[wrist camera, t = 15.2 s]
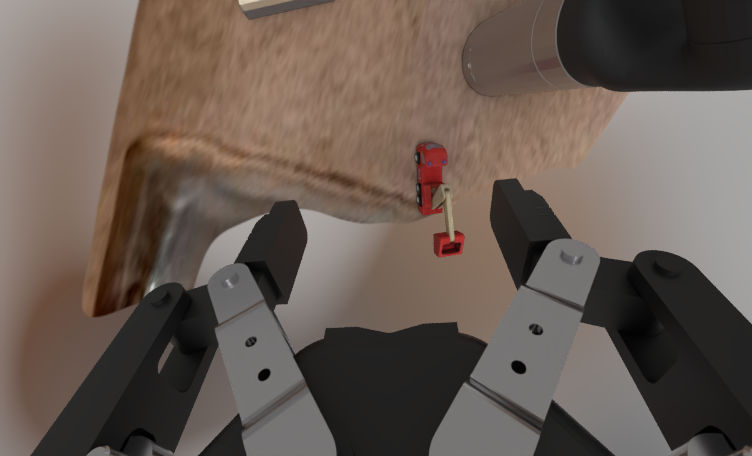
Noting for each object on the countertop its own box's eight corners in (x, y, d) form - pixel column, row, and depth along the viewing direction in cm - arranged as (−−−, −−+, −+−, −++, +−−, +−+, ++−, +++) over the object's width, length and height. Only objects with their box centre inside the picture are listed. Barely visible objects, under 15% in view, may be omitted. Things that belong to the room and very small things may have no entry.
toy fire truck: (436, 140, 43) (467, 148, 34) (437, 229, 48) (464, 256, 39) (414, 142, 42) (439, 151, 33) (417, 232, 47) (439, 260, 39)
